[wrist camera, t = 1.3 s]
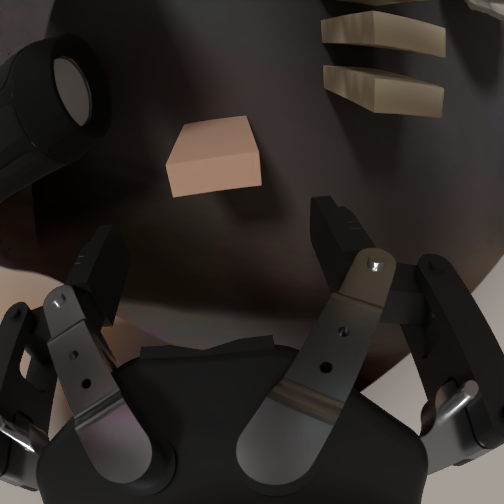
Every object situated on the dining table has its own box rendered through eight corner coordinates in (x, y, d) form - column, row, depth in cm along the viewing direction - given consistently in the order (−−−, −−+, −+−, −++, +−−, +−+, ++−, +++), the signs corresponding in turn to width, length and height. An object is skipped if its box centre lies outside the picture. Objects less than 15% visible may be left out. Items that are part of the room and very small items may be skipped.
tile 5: (184, 124, 22) (165, 165, 15) (246, 115, 22) (258, 152, 15) (188, 146, 23) (173, 197, 16) (248, 138, 23) (261, 185, 16)
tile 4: (323, 65, 20) (374, 78, 13) (378, 68, 20) (443, 88, 13) (323, 88, 21) (373, 112, 14) (377, 90, 21) (441, 118, 14)
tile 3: (320, 20, 17) (373, 10, 10) (377, 26, 17) (445, 28, 10) (322, 42, 18) (374, 44, 11) (377, 47, 18) (445, 58, 11)
